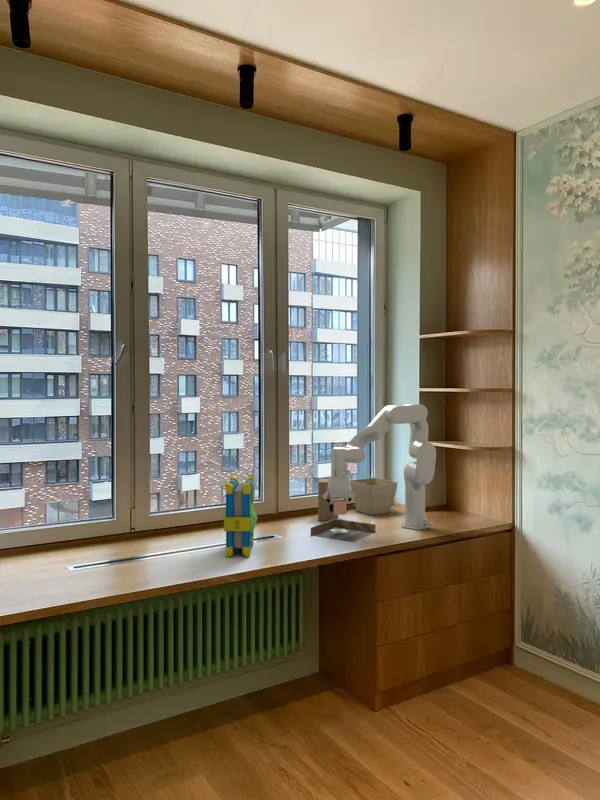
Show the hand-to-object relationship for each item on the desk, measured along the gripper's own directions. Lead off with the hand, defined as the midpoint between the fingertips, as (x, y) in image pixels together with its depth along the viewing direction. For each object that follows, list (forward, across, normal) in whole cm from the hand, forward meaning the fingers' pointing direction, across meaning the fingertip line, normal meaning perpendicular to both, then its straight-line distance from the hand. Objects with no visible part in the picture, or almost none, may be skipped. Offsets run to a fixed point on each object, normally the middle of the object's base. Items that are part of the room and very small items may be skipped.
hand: (338, 511), depth 287 cm
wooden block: (+10, -2, -28) cm, 29 cm away
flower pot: (+10, -31, -39) cm, 51 cm away
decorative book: (+10, +48, +22) cm, 54 cm away
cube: (+1, 0, 0) cm, 1 cm away
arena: (+10, -1, +5) cm, 11 cm away
